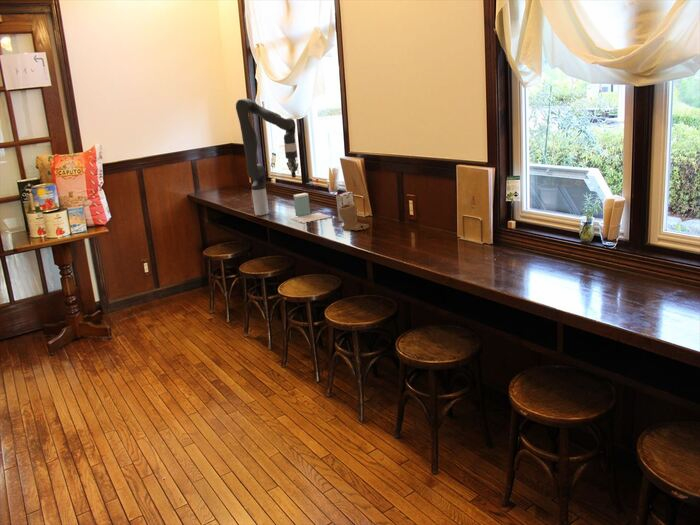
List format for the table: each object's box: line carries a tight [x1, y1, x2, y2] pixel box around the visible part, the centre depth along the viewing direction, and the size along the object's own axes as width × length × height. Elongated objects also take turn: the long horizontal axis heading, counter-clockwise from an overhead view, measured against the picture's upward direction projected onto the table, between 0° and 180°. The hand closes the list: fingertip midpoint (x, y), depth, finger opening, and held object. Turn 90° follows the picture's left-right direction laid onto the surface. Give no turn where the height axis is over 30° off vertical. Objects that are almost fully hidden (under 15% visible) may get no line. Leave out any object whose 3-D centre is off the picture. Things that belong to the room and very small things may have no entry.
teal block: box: [293, 192, 311, 217], centre depth 399 cm, size 5×8×14 cm, turn 120°
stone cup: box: [339, 203, 370, 231], centre depth 352 cm, size 15×12×15 cm
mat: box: [290, 212, 332, 224], centre depth 392 cm, size 17×20×1 cm
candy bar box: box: [335, 191, 355, 223], centre depth 377 cm, size 11×5×16 cm, turn 143°
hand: (293, 177), depth 401 cm, fingers closed
